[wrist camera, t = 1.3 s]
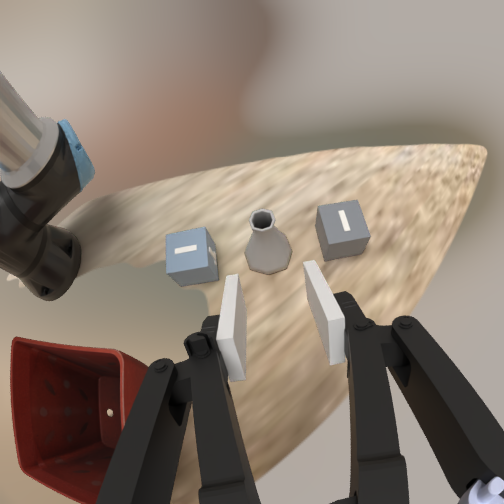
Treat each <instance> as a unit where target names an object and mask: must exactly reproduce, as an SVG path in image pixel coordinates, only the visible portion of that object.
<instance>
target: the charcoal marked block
mask: <svg viewBox="0 0 504 504" xmlns="http://www.w3.org/2000/svg"><path fill="white" fill-rule="evenodd" d="M315 227H316V231H317V235H318V239H319V242H320V246H321V250H322V254H323V258H324V261H329V260H334V259H339V258H344V257H349V256H354V255H360V254H362V252H363V250H364V249H365V247H366V245H367V243H368V241H369V239H370V237H371V236H370V233H369V230H368V227H367V224H366V222H365V219H364V216H363V213H362V210H361V208H360V205H359V202H358V200H353V201H346V202H340V203H334V204H327V205H321V206H318V209H317V217H316V224H315Z"/></svg>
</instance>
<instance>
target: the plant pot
mask: <svg viewBox="0 0 504 504" xmlns="http://www.w3.org/2000/svg"><path fill="white" fill-rule="evenodd" d="M10 368H11V370H10V387H11V388H10V389H11V408H12V420H13V429H14V437H15V444H16V451H17V457H18V462H19V465H20V468H21V470H22V471H23V472H24V473H25V474H26V475H28V476H29V477H31V478H33V479H34V480H36V481H38V482H39V483H41V484H43V485H45V486H46V487H48V488H50V489H52V490H54V491H56V492H58V493H60V494H62V495H64V496H66V497H68V498H70V499H72V500H74V501H76V502H79V503H81V504H95V503H96V501H97V498H98V495H99V492H100V489H101V486H102V483H103V480H104V478H105V475H106V472H107V469H108V467H109V464H110V461H111V459H112V456H113V453H114V451H115V448H116V445H117V443H118V440H119V438H120V435H121V433H122V430H123V428H124V425H125V423H126V420H127V418H128V415H129V413H130V410H131V408H132V405H133V403H134V400H135V398H136V396H137V393H138V391H139V389H140V386H141V384H142V382H143V379H144V377H145V375H146V372H147V370H148V368H149V367H148V366H146V365H145V364H144V363H142V362H140V361H138V360H137V359H135V358H133V357H131V356H129V355H127V354H125V353H123V352H121V351H118V350H116V349H107V348H93V347H82V346H72V345H64V344H56V343H49V342H43V341H37V340H31V339H26V338H21V337H15V338H14V339H13V340H12V346H11V367H10ZM108 409H111V410H112V411H113V416H112V417H109V416H108V414H107V410H108Z"/></svg>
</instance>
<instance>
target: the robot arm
mask: <svg viewBox="0 0 504 504" xmlns="http://www.w3.org/2000/svg"><path fill="white" fill-rule="evenodd" d="M94 174H95V170H94V167H93V165H92V163H91V161H90V159H89V157H88V155H87V154H86V152H85V150H84V148H83V147H82V145H81V143H80V141H79V139H78V137H77V136H76V134H75V132H74V131H73V129H72V127H71V125H70V124H69V122H68V121H67V120H66V119H64V120H62V121H59V122H58V123H56V122H55V121H54V120H53V119H51V118H49V117H41V118H38V117H37V116H36V115H35V114H34V112H33V111H32V110H31V109H30V108H29V107H28V105H27V104H26V103H25V102H24V100H23V99H22V98H21V97H20V95H19V94H18V93H17V92H16V91H15V89H14V88H13V87H12V85H11V84H10V83H9V82H8V80H7V79H6V78H5V76H4V75H3V74H2V72H1V71H0V176H1V182H0V268H1V269H3V270H5V271H7V272H9V273H10V274H12V275H14V276H16V277H18V278H19V279H20V280H21V281H22V282H23V283H24V284H25V286H26V287H27V288H28V289H29V290H30V291H31V292H32V293H33V294H34V295H35V296H37V297H39V298H41V299H43V300H46V301H53V300H56V299H58V298H60V297H61V296H62V295H63V294H64V293H65V292H66V291H67V290H68V289H69V288H70V286H71V285H72V283H73V281H74V279H75V277H76V275H77V272H78V269H79V265H80V259H81V249H80V244H79V241H78V239H77V238H76V237H75V236H74V235H73V234H72V233H70V232H69V231H68V230H66V229H64V228H60V227H56V226H52V225H48V224H47V223H48V222H49V221H50V220H51V219H52V218H53V217H54V216H55V215H56V214H57V213H58V212H59V211H60V210H61V209H62V208H63V207H65V206H66V205H67V204H68V203H69V202H70V201H71V200H72V199H73V198H74V197H75V196H76V195H77V194H79V193H80V192H81V191H82V190H83V188H84V187H85V186H86V185H87V184H88V183H89V182H90V181H91V180H92V179H93V177H94ZM303 267H304V274H305V283H306V291H307V299H308V302H309V305H310V308H311V311H312V313H313V316H314V319H315V322H316V325H317V328H318V331H319V334H320V337H321V340H322V343H323V346H324V349H325V351H326V354H327V358H328V361H329V364H330V365H334V364H338V363H343V362H345V355H346V358H347V360H348V365H347V378H348V383H349V400H350V424H351V478H350V482H351V483H350V493H349V498H345V499H341V500H337V501H335V502H332V503H330V504H409V491H408V478H407V468H406V462H405V458H404V456H402V455H401V454H400V449H399V441H398V434H397V426H396V420H395V414H394V408H393V402H392V396H391V391H390V386H389V381H388V376H387V371H386V367H388V369H389V371H390V372H391V374H392V376H393V378H394V379H395V381H396V383H397V385H398V386H399V388H400V390H401V392H402V393H403V395H404V397H405V399H406V401H407V403H408V404H409V406H410V408H411V410H412V412H413V413H414V415H415V417H416V419H417V421H418V423H419V425H420V427H421V428H422V430H423V432H424V434H425V436H426V438H427V440H428V442H429V444H430V446H431V448H432V450H433V452H434V454H435V456H436V458H437V460H438V462H439V464H440V466H441V468H442V470H443V472H444V474H445V476H446V479H447V481H448V482H449V484H450V486H451V488H452V489H453V491H454V492H455V493H456V494H457V496H458V497H459V498H460V500H459V502H458V504H504V431H503V429H502V428H501V426H500V425H499V423H498V422H497V420H496V419H495V418H494V416H493V415H492V413H491V412H490V410H489V409H488V408H487V406H486V405H485V403H484V402H483V401H482V399H481V398H480V397H479V395H478V394H477V392H476V391H475V390H474V388H473V387H472V386H471V385H470V383H469V382H468V381H467V379H466V378H465V377H464V375H463V374H462V373H461V372H460V370H459V369H458V368H457V367H456V366H455V364H454V363H453V362H452V360H451V359H450V358H449V357H448V356H447V354H446V353H445V352H444V351H443V349H442V348H441V347H440V346H439V345H438V343H437V342H436V341H435V340H434V339H433V337H432V336H431V335H430V334H429V333H428V332H427V331H426V329H425V328H424V327H423V326H422V325H421V324H420V322H419V321H418V320H417V319H415V318H414V317H411V316H399V317H397V318H395V319H394V320H393V322H392V325H389V326H379V325H376V324H375V323H374V321H373V320H371V319H369V318H366V317H365V315H364V314H363V312H362V310H361V309H360V307H359V306H358V304H357V302H356V301H355V299H354V298H353V296H352V295H351V294H349V293H348V292H346V291H344V292H340V293H335V294H333V293H332V292H331V290H330V288H329V286H328V284H327V282H326V280H325V278H324V276H323V275H322V273H321V271H320V269H319V267H318V265H317V263H316V262H315V260H312V261H306V262H303ZM246 324H247V309H246V305H245V301H244V296H243V292H242V288H241V284H240V279H239V275H238V274H234V275H228V276H226V282H225V288H224V294H223V300H222V306H221V312H220V315H214V316H208V317H207V318H206V319H205V320H204V321H203V324H202V329H201V332H196V333H193V334H191V335H189V336H188V337H187V338H186V339H185V341H184V346H185V348H186V351H187V353H188V355H189V359H187V360H185V361H182V362H179V363H176V364H174V363H173V361H172V360H170V359H167V358H166V359H165V358H163V359H159V360H157V361H154V362H153V363H152V364H151V365H150V366H149V368H148V370H147V372H146V375H145V377H144V379H143V382H142V384H141V386H140V389H139V391H138V393H137V396H136V398H135V400H134V403H133V405H132V408H131V410H130V413H129V415H128V418H127V420H126V423H125V425H124V428H123V430H122V433H121V435H120V438H119V440H118V443H117V445H116V448H115V451H114V453H113V456H112V459H111V461H110V464H109V467H108V469H107V472H106V475H105V478H104V480H103V483H102V486H101V489H100V492H99V495H98V498H97V501H96V503H95V504H170V500H171V495H172V490H173V485H174V481H175V476H176V471H177V466H178V462H179V457H180V452H181V448H182V443H183V439H184V434H185V430H186V425H187V421H188V417H189V412H190V408H191V404H193V415H194V425H195V434H196V443H197V451H198V459H199V467H200V474H201V481H202V487H201V488H200V489H199V492H198V494H199V503H200V504H261V502H260V499H259V496H258V493H257V490H256V486H255V483H254V479H253V476H252V472H251V469H250V465H249V461H248V458H247V454H246V450H245V447H244V443H243V439H242V435H241V431H240V427H239V423H238V419H237V415H236V411H235V407H234V403H233V399H232V395H231V391H230V387H229V384H228V376H229V379H230V382H233V381H241V380H246Z"/></svg>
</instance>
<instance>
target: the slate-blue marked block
mask: <svg viewBox="0 0 504 504" xmlns="http://www.w3.org/2000/svg"><path fill="white" fill-rule="evenodd" d="M166 274H167V275H169V276H170V277H171V278H172V279H173V280H174V281H175V282H177V283H178V284H179V285H180V286H188V285H194V284H200V283H206V282H212V281H218V280H219V278H218V268H217V257H216V247H215V243H214V241H213V240H212V238H211V236H210V234H209V233H208V231H207V229H206V227H201V228H196V229H191V230H187V231H182V232H177V233H172V234H168V235H166Z"/></svg>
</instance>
